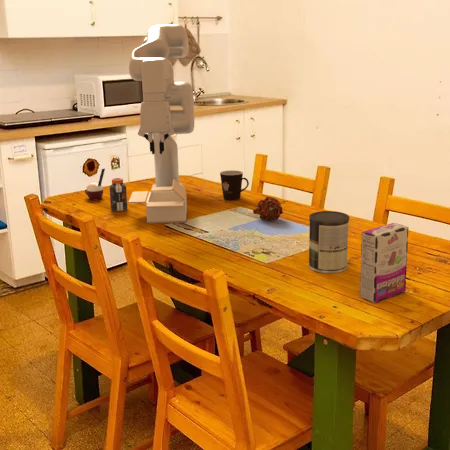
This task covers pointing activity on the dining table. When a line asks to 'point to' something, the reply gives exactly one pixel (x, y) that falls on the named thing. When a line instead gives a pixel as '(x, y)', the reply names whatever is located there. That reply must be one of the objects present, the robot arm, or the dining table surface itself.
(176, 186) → the flap
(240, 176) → the coffee mug
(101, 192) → the cocoa
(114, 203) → the pill bottle
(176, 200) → the carton
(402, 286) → the candy bar box
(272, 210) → the dark red rounded piece
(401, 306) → the dining table surface
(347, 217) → the coffee can
